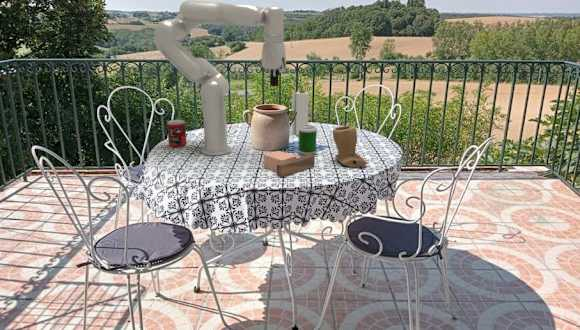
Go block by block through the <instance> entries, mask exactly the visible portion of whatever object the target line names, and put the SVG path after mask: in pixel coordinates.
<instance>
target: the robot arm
mask: <svg viewBox="0 0 580 330" xmlns="http://www.w3.org/2000/svg"><path fill="white" fill-rule="evenodd" d="M284 14H285V13H284V8H283V7H281V6H268V7H267V6H266V7H263V6H255V5H246V4H245V5H244V4H243V5H242V4H231V3H229V4H228V3H225V2H219V1H208V0H207V1H206V0H185V1H183V2H182V3H181V4H180V6H179V13H178V14H177V15H176V16H175V17H174V18H173V19H172V18H171V19H164V20H161V21H159V22H158V23H157V25H156V27H155V29H154V35H153V36H154V43H155V45H156V47H157V49H158V51H159V52H160V53H161V55H163V57H165V59H166V60H167V61H168V62H170V64H172V65H173V66H174V67H175V68H176V69H177V70H178V71H179V73H181V75H182V76H183V77H185V79H186V80H187V81H189V82H191V83H196V84H197V83H199V84H201V88H200V100H201V106H202V114H203V115H202V117H203V130H204V131H203V133H204V136H203V137H204V140H201V144H202V145H203V147H202V148H201V153H202V155H207V156H222V155H228V154H230V153H231V151H232V149H231V147H230V146H228V137H227V136H228V132H227V113H226V111H227V110H226V102H225V97H226V96H227V94H228V93H229V91H230V83H229V81H228V79H227V78H226V77H225V76H224V75H223V74H222V73H221V72H220V71H219V70H218V69H217V68H216V67H215V66H214V65H213V64H212V63H211V62H209V60H207V59H205V58H202V57H195V56H194V55H193V54H192V53H191V52H190V51H189V50H188V49H187V48H186V47H185V46H184V45H182V44H181V43H180V42H179V41H180V40H183V39H185V37H186V36H188V35H189V34H190V33H191V32H192V31H194V30H195V28H197V27H198V26H199V25H200V24H205V25H214V26H215V25H218V26H227V25H229V26H240V27H251V28H252V27H260V26H264V37H263V39H264V42H263V44H262V49H261V50H262V51H261V67H262V68H263V69H264V71H266V72H268V76H269V78H270V79H269V85H270V87H278V86H279V77H280V76H281V73H285V71H286V69H285V68H286V67H287V55H286V46H285V43H284V41H285V40H284V39H285V38H284V37H285V35H284V27H285V25H284V23H285V21H284V17H285V15H284Z"/></svg>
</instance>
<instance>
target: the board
mask: <svg viewBox="0 0 580 330" xmlns="http://www.w3.org/2000/svg"><path fill="white" fill-rule="evenodd" d="M315 156H316V155H315V154H314V155H310V154H308V155H301V156H299V157H298V156H297V158H295V159H292V160H289V161H286V162H282V163H279V164H277V172H276V176H277V177H280V178H285V177H288V176H290V175H293V174H296V173H299V172H302V171H304V170H307V169H311V168H314V167H315V158H316V157H315Z"/></svg>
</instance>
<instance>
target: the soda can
mask: <svg viewBox="0 0 580 330" xmlns="http://www.w3.org/2000/svg"><path fill="white" fill-rule="evenodd" d="M317 130H318V129H317V128H316V127H315V125H312V124H311V125H310V124H308V125H303V126H301V127H300V128H299V136H298V152H299V153H300V155H301V156H305V155H308V154H310V155H314V156H315V154H316V153H317Z"/></svg>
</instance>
